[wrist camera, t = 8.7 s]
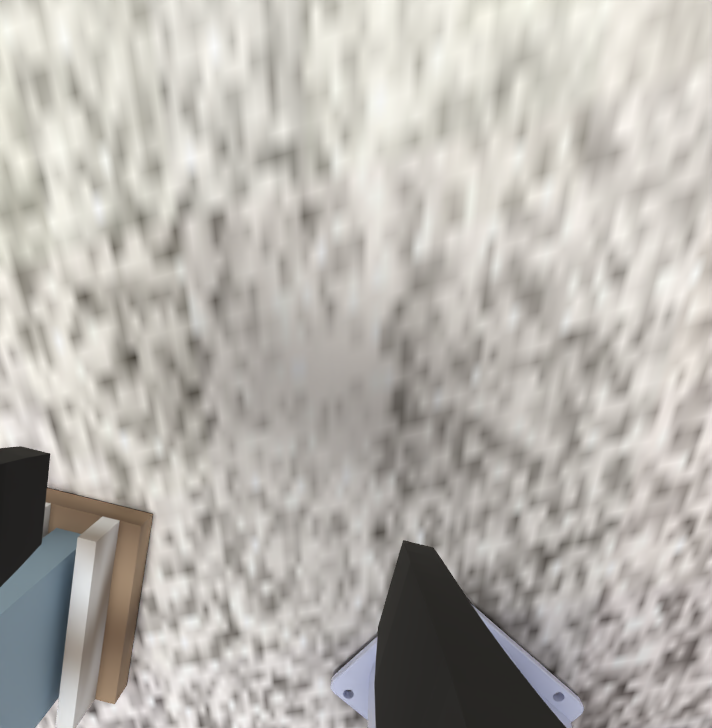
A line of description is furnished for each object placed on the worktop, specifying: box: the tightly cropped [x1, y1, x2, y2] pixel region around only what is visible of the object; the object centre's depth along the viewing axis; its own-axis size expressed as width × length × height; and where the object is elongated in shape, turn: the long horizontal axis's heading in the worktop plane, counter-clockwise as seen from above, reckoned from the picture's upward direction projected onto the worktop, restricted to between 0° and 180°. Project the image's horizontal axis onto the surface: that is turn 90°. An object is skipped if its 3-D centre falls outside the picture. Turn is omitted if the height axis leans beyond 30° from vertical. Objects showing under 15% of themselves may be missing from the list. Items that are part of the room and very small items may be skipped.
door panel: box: [0, 528, 81, 728], centre depth 17 cm, size 8×2×6 cm, turn 167°
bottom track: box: [42, 488, 153, 728], centre depth 20 cm, size 10×6×3 cm, turn 167°
